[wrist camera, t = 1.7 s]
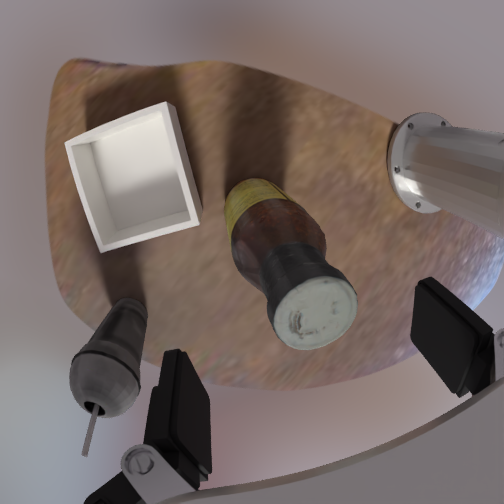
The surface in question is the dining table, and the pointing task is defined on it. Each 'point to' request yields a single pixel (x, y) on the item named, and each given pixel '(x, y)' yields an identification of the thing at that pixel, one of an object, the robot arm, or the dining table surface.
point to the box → (135, 177)
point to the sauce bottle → (288, 265)
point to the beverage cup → (110, 364)
